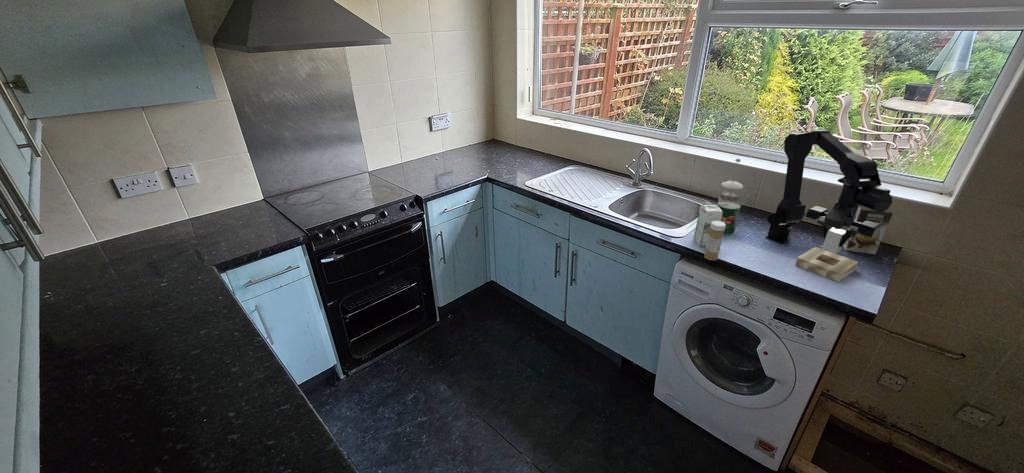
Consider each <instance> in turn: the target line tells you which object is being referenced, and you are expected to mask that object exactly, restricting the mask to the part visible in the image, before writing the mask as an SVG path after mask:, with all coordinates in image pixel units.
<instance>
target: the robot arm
mask: <svg viewBox="0 0 1024 473" xmlns="http://www.w3.org/2000/svg"><path fill="white" fill-rule="evenodd" d="M783 144H784V145H783V148H784V150H783V151H784V154H785V155H786V158H787V164H786V165H787V167H786V174H785V175H786V176H785V182H784V191H783V198H782V199H781V201H779V203H778V205H777V206H776V211H775V212H774V213H772V214H770V215H769V216H767V223H769V229H768V232H767V235H765V236H764V237H765V238H766V239H769V240H771V241H773V242H777V243H780V244H785V243H786V242H787V241H789V240H791V237H792V234H793V231H794V230H793V229H792V228H793V226H797V225H798V224H799V222H801V220H803V218H804V217H805V218H808V219H812V220H815V221H816V220H817V219H818V220H817V222H816V223H817V224H820V225H821V227H822V232H823V242H824V241H825V238H826V235H827V232H828V230H829V229H831V228H833V227H834V228H835V229H843V227H844V228H845V227H846V228H847V227H850V228H849V229H848V230H846V229H845V231H846V232H845V235H844V237H843V239H842V241H841V243H840V246H839V247H841V248H843V245H844V244H845V243H846V242H847V241H848V240H849V239H850V238H851V236H853V235H854V234H855V235H857V234H862V235H865V236H869V237H872V236H874V235H875V234H877V233H878V232H879V230H880V225H879V224H877V223H874V222H870V221H867V220H866V221H864V222H863V223H861V222H857V221H854V219H855V218H856V213H857V211H858V208H859V206H860V205H861V206H863V207H866V208H868V209H870V210H873V211H875V212H877V213H881V212H884V211H886V210H887V209H889V208H890V207H891V206H892V204H893V196H892V195H891V190H890V189H887V188H884V187H882V181H881V178H880V174H879V170H878V167H879V165H878V163H877V162H876V161H874V160H873V159H870V158H869V157H867V156H864V155H861V154H859V153H858V154H857V153H855V152H854V151H852V149H850V148H849V147H848V146H846V145H845V144H844V143H842V141H840V140H839V139H838V138H837V137H835V136H834V135H833V134H832V133H831V131H830V130H828V129H817V130H816V129H814V130H812V131H809V132H808V131H807V132H796V133H794V132H793V133H789V134H788V135H787V136H786V137H785V138H784V142H783ZM815 145H817V147H819V149H821V150H822V151H823V152H824V153H826V154H827V155H828V156H829V157H830V158H831V159H833V161H835V162H836V163H837V164H838V165H839V171H840V172H841V174H843V177H841V178H839V179H837V182H838V183H840V184H842V187H841V190H840V191H839V196H838V198H837V201H836V202H835V204H834V205H833V207H832V208H831V209H830V210H828V208H825V207H822V206H818V205H815V206H813V207H811V208H809V209H807V210H806V207H807V206H806V204H803V203H802V202H801V199H800V198H801V190H802V184H803V182H802V181H803V176H804V171H805V170H804V169H805V162H806V159H807V157H808V156H809V154H810V153H811V152H812V149H813V146H815ZM868 179H869V180H868ZM805 212H806V213H805Z"/></svg>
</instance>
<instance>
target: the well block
mask: <svg viewBox="0 0 1024 473" xmlns="http://www.w3.org/2000/svg"><path fill="white" fill-rule="evenodd" d="M858 263H859V261H856V260H854V259H851V258H848V257H846V256H842V255H840V254H837V253H836V254H834V253H831V252H828V251H825V250H822V248H820V247H817V246H815V247H812V248H811V249H810V250H807V251H806V252H805V253H802V254H801V255H799V256H797V258H796V261H795V264H794V266H796V267H799V268H801V269H804V270H806V271H809V272H811V273H814V274H816V275H819V276H821V277H824V278H826V279H829V280H831V281H835V282H837V283H839V282H840V281H842V280H843V279H845V278H846V277H847V276H849V275H850V274H851V273H853V272H854V271H856V269H857V266H858Z"/></svg>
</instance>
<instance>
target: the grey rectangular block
mask: <svg viewBox="0 0 1024 473" xmlns="http://www.w3.org/2000/svg"><path fill="white" fill-rule="evenodd" d="M845 232H846V229H843V228H841V229H835V228H834V227H832V228H831V229H829V230H828V232H827V235H826V238H825V241H824V240H823V243H822V246H821V249H822V250H825V251H828V252H831V253H834V254H837V253H838V252H840V251H841V250H842V247H839V246H840V243H841V241H842V239H843V237H844V235H845Z"/></svg>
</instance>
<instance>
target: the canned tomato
mask: <svg viewBox="0 0 1024 473" xmlns="http://www.w3.org/2000/svg"><path fill="white" fill-rule="evenodd" d="M717 205H718V207H719V208H720V209H721V210H722V211H723V213H722V217H721V222H723V223H725V224H726V226H725V230H724V233H723V235H727V236H729V235H733V234H735V230H736V228H737V227H736V226H737V223H738V218H739V214H740V210H741V206H740V205H741V204H737V203H735V202H731V201H730V200H726V201H720V202H719V203H718V202H717Z"/></svg>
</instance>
